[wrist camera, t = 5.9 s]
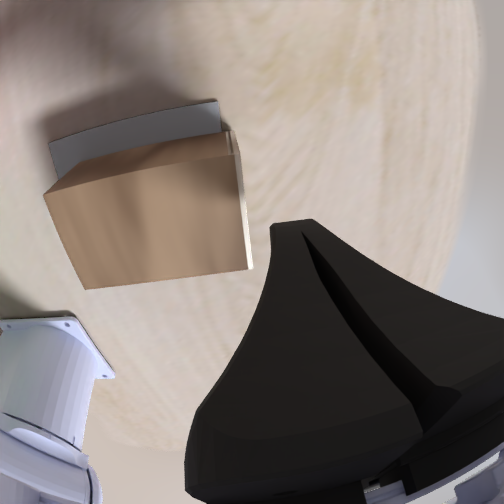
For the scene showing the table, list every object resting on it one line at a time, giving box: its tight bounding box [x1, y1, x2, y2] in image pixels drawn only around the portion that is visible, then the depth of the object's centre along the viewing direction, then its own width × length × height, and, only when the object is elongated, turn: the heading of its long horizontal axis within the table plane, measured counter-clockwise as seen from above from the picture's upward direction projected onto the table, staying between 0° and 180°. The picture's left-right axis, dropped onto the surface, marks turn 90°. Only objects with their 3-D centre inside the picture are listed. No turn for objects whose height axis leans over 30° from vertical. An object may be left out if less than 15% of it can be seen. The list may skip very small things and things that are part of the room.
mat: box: [49, 101, 222, 180], centre depth 15 cm, size 9×8×1 cm
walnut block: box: [43, 131, 253, 290], centre depth 13 cm, size 4×5×8 cm
